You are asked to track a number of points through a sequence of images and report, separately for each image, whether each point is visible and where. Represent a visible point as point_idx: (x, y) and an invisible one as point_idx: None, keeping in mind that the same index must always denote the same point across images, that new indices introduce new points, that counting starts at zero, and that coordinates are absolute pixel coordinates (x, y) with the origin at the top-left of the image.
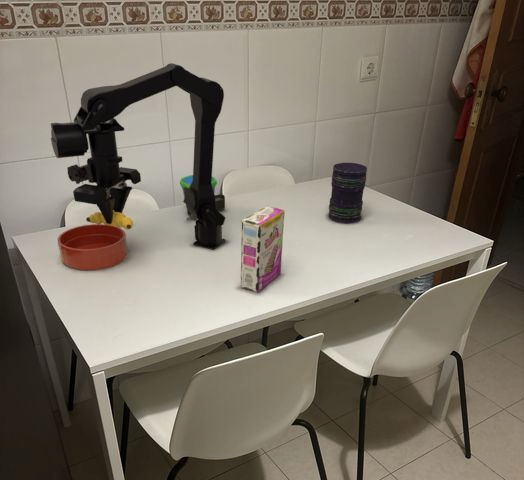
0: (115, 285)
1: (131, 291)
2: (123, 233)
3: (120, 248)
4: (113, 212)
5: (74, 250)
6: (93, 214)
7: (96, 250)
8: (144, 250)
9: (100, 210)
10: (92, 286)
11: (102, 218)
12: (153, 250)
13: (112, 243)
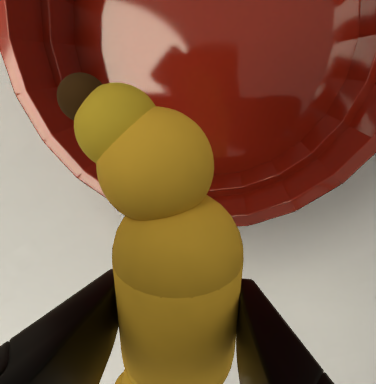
0: (51, 239)
1: (48, 291)
2: (307, 193)
3: None
4: (160, 361)
5: (3, 54)
6: (112, 148)
7: (69, 165)
8: (336, 209)
9: (3, 350)
10: (7, 179)
11: (114, 244)
12: (343, 240)
13: (355, 53)
